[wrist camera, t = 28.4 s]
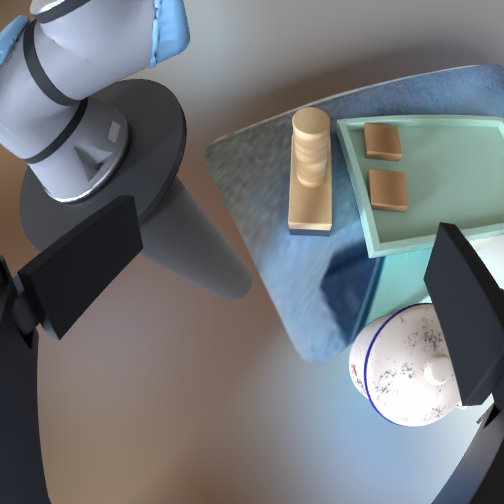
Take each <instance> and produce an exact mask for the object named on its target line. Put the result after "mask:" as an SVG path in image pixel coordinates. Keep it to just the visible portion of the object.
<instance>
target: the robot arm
mask: <svg viewBox="0 0 504 504" xmlns="http://www.w3.org/2000/svg"><path fill="white" fill-rule="evenodd" d="M30 12H31V13H32V15H33V16H34V17H35V18H36V19H35V20H33V21H32V22H30V21H29V20H30V19H29V17H25V16H23V15H21V16H18V17H17V18H16V19H14V20H13V21H12V22H11V23H10V24H9V25H7V27H5V29H4V30H3V31H2V32H1V33H0V144H1V145H3V146H4V147H5V148H7V149H8V150H9V151H11V152H12V153H13V154H15V155H16V156H18V157H19V158H20V159H22V160H23V161H24V162H26V163H27V164H28V165H29V166H30V167H31V169H32V170H33V172H34V173H35V175H36V176H37V177H38V179H39V180H40V181H41V184H42V186H43V188H44V189H45V191H46V192H47V194H48V195H49V196H50V197H52V198H53V199H55V200H56V201H58V202H60V203H62V204H66V205H74V204H78V203H81V202H84V201H86V200H88V199H90V198H91V197H93V196H94V195H96V194H97V193H99V192H100V191H101V190H102V189H103V188H104V187H105V186H106V185H107V184H108V183H109V182H110V181H111V180H112V179H113V178H114V176H115V175H116V174H117V172H118V171H119V170H120V168H121V166H122V165H123V163H124V161H125V159H126V157H127V155H128V152H129V149H130V145H131V140H132V131H131V127H130V124H129V122H128V121H127V119H126V118H125V117H124V116H123V114H122V113H121V112H120V111H118V110H117V109H115V108H113V107H111V106H108V105H106V104H104V103H103V102H101V101H99V100H97V99H96V98H94V97H92V96H90V95H92V94H93V93H95V92H97V91H99V90H101V89H103V88H105V87H107V86H109V85H111V84H113V83H115V82H117V81H119V80H121V79H123V78H125V77H127V76H129V75H131V74H134V73H135V72H138V71H140V70H142V69H145V68H147V67H150V68H153V67H155V65H156V64H157V63H159V62H162V61H164V60H166V59H168V58H170V57H173V56H175V55H178V54H180V53H181V52H183V51H184V50H185V49H186V48H187V46H188V44H189V42H190V33H189V27H188V22H187V17H186V12H185V7H184V3H183V0H33V1H32V4H31V7H30ZM142 249H143V244H142V239H141V233H140V228H139V222H138V216H137V210H136V204H135V198H134V195H120V196H119V197H117V198H116V199H114V200H112V201H111V202H109V203H108V204H107V205H105V206H104V207H102V208H101V209H99V210H98V211H96V212H95V213H93V214H92V215H90V216H89V217H88V218H86V219H85V220H83V221H82V222H81V223H79V224H78V225H76V226H75V227H74V228H72V229H71V230H70V231H68V232H67V233H66V234H64V235H63V236H62V237H60V238H59V239H58V240H56V241H55V242H54V243H52V244H51V245H50V246H49V247H47V248H46V249H45V250H43V251H42V252H41V253H40V254H38V255H37V256H36V257H35V258H34V259H32V260H31V261H30V262H29V263H27V264H26V265H25V266H24V267H23V268H21V269H20V270H19V271H18V272H17V273H18V274H17V275H16V276H15V277H14V278H13V279H12V277H11V274H10V272H9V269H8V267H7V264H6V262H5V259H4V257H3V256H2V255H0V504H51V502H50V500H49V497H48V492H47V487H46V482H45V476H44V470H43V463H42V455H41V446H40V436H39V424H38V405H37V359H38V357H37V356H38V340H39V335H38V331H37V330H36V328H35V327H36V326H37V325H38V324H39V323H41V325H42V328H43V329H44V331H45V333H46V335H48V336H50V337H52V338H55V339H57V340H60V339H61V338H62V337H63V336H64V335H65V333H66V332H67V331H68V330H69V329H70V328H71V326H72V325H73V324H74V323H75V322H76V321H77V319H78V318H79V317H80V316H81V315H82V314H83V313H84V311H85V310H86V309H87V308H88V307H89V306H90V305H91V304H92V302H93V301H94V300H95V299H96V298H97V297H98V296H99V295H100V294H101V292H102V291H103V290H104V289H105V288H106V287H107V286H108V285H109V284H110V283H111V281H112V280H113V279H114V278H115V277H116V276H117V275H118V274H119V273H120V272H121V271H122V270H123V269H124V267H126V266H127V265H128V264H129V262H130V261H131V260H132V259H133V258H134V257H135V256H136V255H137V254H138V253H139V252H140V251H141V250H142ZM424 282H425V284H426V287H427V289H428V292H429V295H430V297H431V300H432V303H433V306H434V309H435V311H436V314H437V317H438V320H439V323H440V326H441V329H442V332H443V335H444V339H445V342H446V345H447V348H448V352H449V355H450V359H451V362H452V366H453V370H454V373H455V377H456V381H457V385H458V389H459V394H460V398H461V402H462V406H473V405H481V404H483V402H484V401H485V400H486V399H487V398H488V396H489V395H490V394H491V393H492V395H493V398H494V403H493V404H492V405H491V406H490V407H489V408H488V410H487V411H486V412H485V413H484V414H483V415H482V416H481V417H480V418H479V420H478V421H477V422H476V423H478V424H479V423H480V422H481V421H482V420H483V421H482V423H481V425H480V427H479V429H478V431H477V433H476V435H475V437H474V438H473V440H472V442H471V444H470V446H469V448H468V449H467V451H466V453H465V454H464V456H463V458H462V459H461V461H460V463H459V464H458V466H457V467H456V469H455V471H454V472H453V474H452V475H451V477H450V478H449V480H448V481H447V483H446V484H445V485H444V487H443V488H442V490H441V491H440V493H439V494H438V495H437V497H436V498H435V499H434V501H433V502H432V503H431V504H504V290H503V289H500V288H499V286H498V284H497V283H496V281H495V280H494V278H493V276H492V275H491V273H490V272H489V271H488V269H487V267H486V266H485V264H484V263H483V261H482V260H481V259H480V257H479V256H478V254H477V253H476V251H475V250H474V249H473V247H472V246H471V244H470V243H469V242H468V240H467V239H466V238H465V236H464V235H463V234H462V232H461V231H460V230H459V228H458V227H457V226H456V225H455V224H450V223H443V222H440V223H439V227H438V231H437V235H436V239H435V242H434V246H433V249H432V253H431V256H430V260H429V263H428V266H427V269H426V272H425V276H424Z"/></svg>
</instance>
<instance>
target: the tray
mask: <svg viewBox="0 0 504 504" xmlns="http://www.w3.org/2000/svg"><path fill="white" fill-rule="evenodd" d="M364 123H369V124H379V125H387V126H396V127H397V128H398V133H399V139H400V145H401V151H402V156H401V158H400V160H399V162H396V161H386V160H376V159H366V158H365V150H364V139H363V127H364ZM336 133H337V136H338V139H339V142H340V145H341V149H342V152H343V155H344V159H345V162H346V166H347V169H348V173H349V176H350V180H351V183H352V187H353V191H354V195H355V198H356V202H357V206H358V210H359V214H360V219H361V223H362V227H363V231H364V236H365V240H366V245H367V250H368V255H369V258H375V257H381V256H387V255H393V254H398V253H404V252H410V251H416V250H422V249H427V248H433V246H434V242H435V239H436V235H437V231H438V227H439V223H440V222H443V223H450V224H455V225H456V226H457V227H458V228H459V230H460V231H461V232H462V234H463V235H464V236H465V238H466V239H467V240H468V241H471V240H476V239H482V238H487V237H492V236H497V235H502V234H504V119H503V117H492V116H475V115H394V116H375V117H361V118H349V119H338V120H337V128H336ZM369 169H376V170H386V171H396V172H404V173H405V177H406V186H407V196H408V206H409V207H408V208H407V210H406V211H405V212H392V211H380V210H372V208H371V205H370V201H369V197H368V186H367V174H368V171H369Z"/></svg>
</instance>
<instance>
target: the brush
mask: <svg viewBox="0 0 504 504" xmlns="http://www.w3.org/2000/svg"><path fill="white" fill-rule="evenodd" d="M292 121H293V133H294V135H292V153H291V178H290V199H289V218H288V224H289V231H290V235H308V236H330V232H331V227H332V166H331V139H330V136H329V135H330V118H329V116H328V115H327V113H326V112H324V111H323V110H321V109H319V108H315V107H306V108H303V109H300V110H299V111H297V112H296V113H295V115H294V116H293V120H292Z"/></svg>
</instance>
